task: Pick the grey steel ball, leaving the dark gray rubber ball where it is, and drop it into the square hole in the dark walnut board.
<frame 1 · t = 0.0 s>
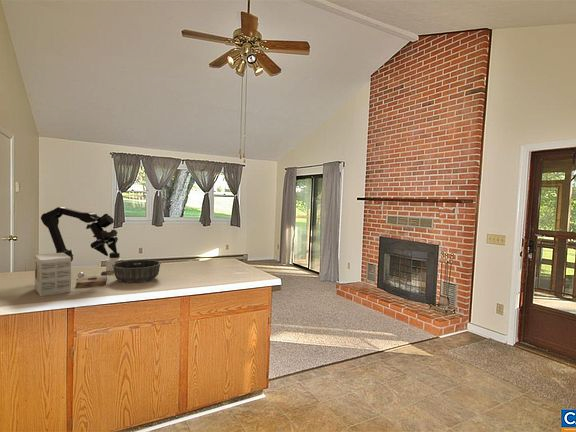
hand: (112, 254, 200), 15 cm above the table, tool tilted 35°, fingers open, 9 cm apart
bundt pan: (136, 280, 202), on the table
supplement box: (52, 290, 174), on the table
dark gray rubber ball: (104, 274, 205), point 2 cm above the table
walnut board: (92, 283, 190), on the table
steel ball: (81, 275, 200), point 2 cm above the table
medicine bottle: (114, 270, 224), on the table
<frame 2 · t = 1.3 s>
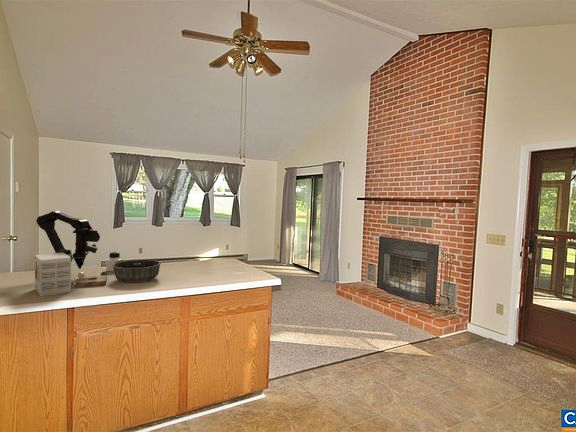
hand: (81, 267, 200), 7 cm above the table, tool pointing down, fingers open, 9 cm apart
nothing on the table moved.
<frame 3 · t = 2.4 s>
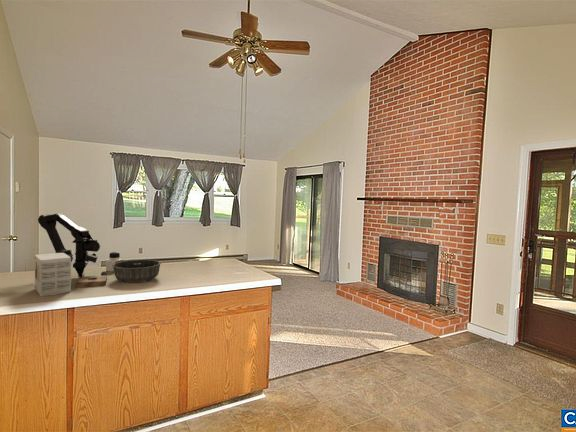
hand: (81, 276, 200), 1 cm above the table, tool pointing down, fingers closed on steel ball, 3 cm apart
steel ball: (81, 275, 200), point 2 cm above the table, touching gripper
everything else where it was.
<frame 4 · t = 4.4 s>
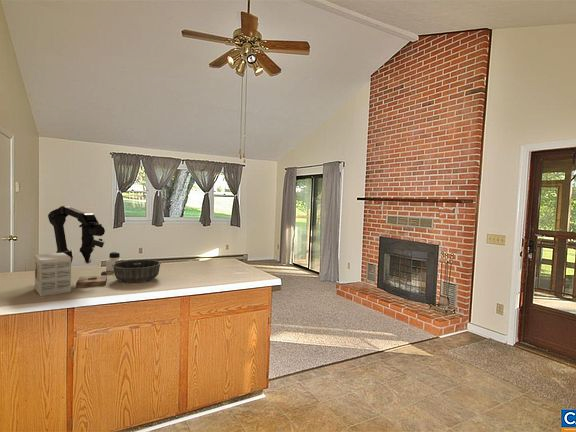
hand: (87, 262, 194), 11 cm above the table, tool pointing down, fingers closed on steel ball, 3 cm apart
steel ball: (87, 260, 194), point 12 cm above the table, touching gripper
everything else where it was.
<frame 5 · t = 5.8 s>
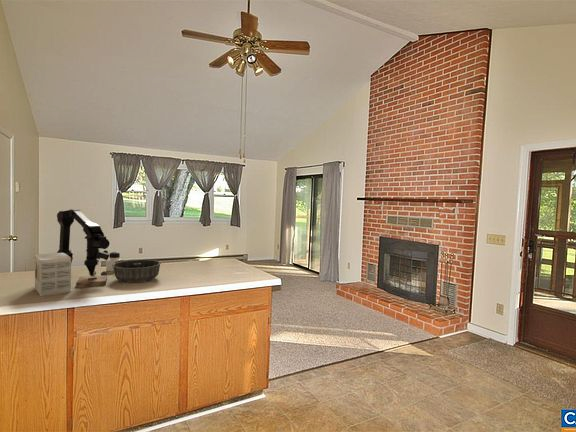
hand: (92, 274, 190), 5 cm above the table, tool pointing down, fingers closed on steel ball, 3 cm apart
steel ball: (92, 273, 190), point 6 cm above the table, touching gripper
everything else where it was.
when the fingers open (4 cm above the table, at t = 6.5 s): steel ball drops 4 cm, point 2 cm above the table.
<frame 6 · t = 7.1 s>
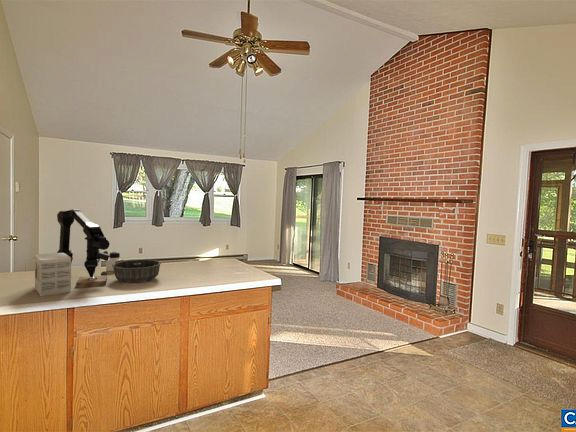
hand: (92, 275, 190), 4 cm above the table, tool pointing down, fingers open, 9 cm apart
steel ball: (92, 280, 190), point 2 cm above the table
everything else where it was.
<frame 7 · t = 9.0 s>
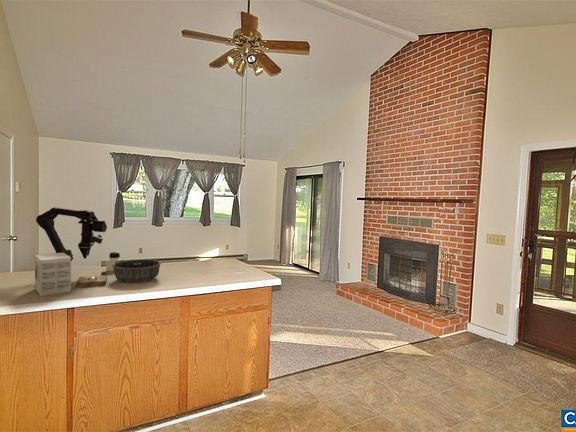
hand: (86, 257, 202), 12 cm above the table, tool pointing down, fingers open, 9 cm apart
nothing on the table moved.
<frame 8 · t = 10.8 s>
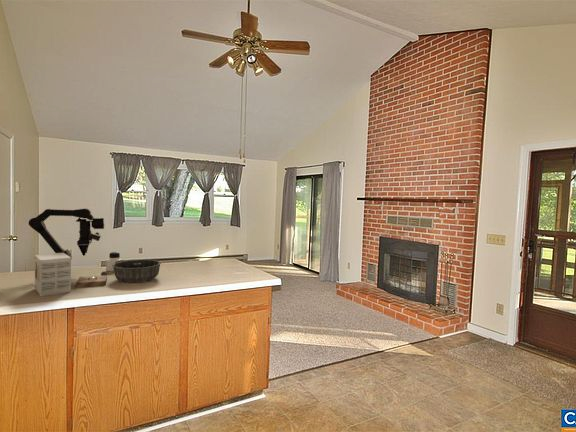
hand: (84, 254, 207), 13 cm above the table, tool pointing down, fingers open, 9 cm apart
nothing on the table moved.
at the end: steel ball 0.1 cm off-centre on the walnut board, point 1.7 cm above the walnut board's base; dark gray rubber ball moved 0.1 cm from its start; the gripper is holding nothing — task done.
